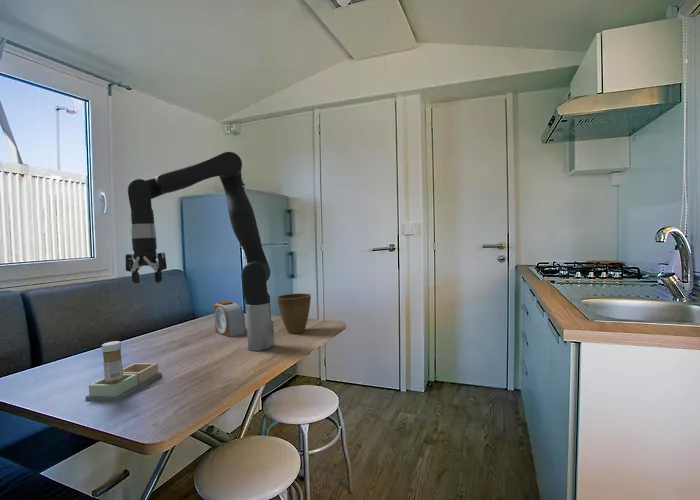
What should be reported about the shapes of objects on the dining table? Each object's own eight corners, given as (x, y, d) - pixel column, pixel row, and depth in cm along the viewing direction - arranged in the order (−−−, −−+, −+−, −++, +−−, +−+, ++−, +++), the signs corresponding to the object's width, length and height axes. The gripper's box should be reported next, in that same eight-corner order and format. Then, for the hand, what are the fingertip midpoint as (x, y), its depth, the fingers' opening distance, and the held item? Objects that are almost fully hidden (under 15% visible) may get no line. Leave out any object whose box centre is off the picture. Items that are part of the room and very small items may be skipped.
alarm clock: (213, 331, 171) (211, 302, 171) (231, 327, 177) (229, 299, 176) (227, 337, 160) (225, 306, 160) (245, 333, 166) (244, 303, 165)
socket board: (161, 375, 118) (160, 363, 118) (118, 401, 100) (117, 386, 100) (133, 374, 119) (132, 362, 119) (85, 400, 102) (84, 385, 101)
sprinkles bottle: (124, 385, 108) (121, 339, 108) (123, 390, 104) (119, 343, 104) (106, 388, 106) (102, 342, 106) (103, 394, 102) (100, 346, 102)
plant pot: (318, 328, 168) (316, 293, 168) (301, 337, 155) (299, 299, 154) (290, 326, 175) (289, 292, 174) (271, 334, 161) (269, 298, 160)
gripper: (169, 236, 133) (172, 280, 134) (133, 237, 136) (136, 281, 136) (155, 236, 126) (158, 283, 127) (117, 238, 128) (121, 284, 129)
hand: (147, 282), depth 131 cm, fingers open, 8 cm apart
